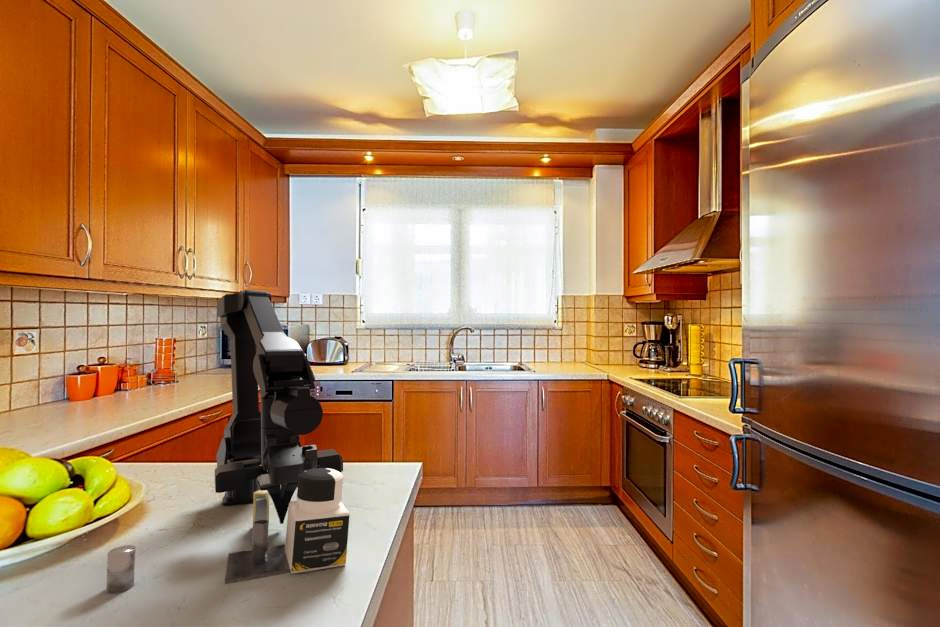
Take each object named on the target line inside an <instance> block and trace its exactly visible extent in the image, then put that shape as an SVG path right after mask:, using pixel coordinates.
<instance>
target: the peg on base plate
mask: <svg viewBox="0 0 940 627" xmlns="http://www.w3.org/2000/svg"><path fill="white" fill-rule="evenodd" d="M269 522H270V520H269V521H267V520H259V521H256V522H254V523H253V522H252V535H251V536H252V538H251V540H252V541H251V543H252V545H251V549H248V550H242V551H236V552H229V553H228V557H227V558H228V559H227V566H226V572H225V579H224V584H230V583H235V582H242V581H247V580H254V579H258V578H263V577H270V576H274V574H275V575H280V573H281V574H286V573H289V572H288V571H291V570H290V567H289V563H288V560H287V557H286V553H285V544H279V545H273V546H272V545H271V546H269V525H270V524H269ZM285 572H286V573H285ZM269 575H270V576H269Z"/></svg>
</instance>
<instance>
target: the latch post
mask: <svg viewBox="0 0 940 627" xmlns="http://www.w3.org/2000/svg"><path fill="white" fill-rule="evenodd" d="M106 562H107V564H106V588H105V589H106V591H105V592H106V593H107V594H119V593H123V592H125V591H129V590H130V589H132V588H133V587H134V586H135V575H136V572H135V569H136V568H135V567H136V546H135V545H132V544H130V545H121V546H117V547H114V548H112V549H110V550H109V551H107V561H106Z"/></svg>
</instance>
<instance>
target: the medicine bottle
mask: <svg viewBox="0 0 940 627" xmlns="http://www.w3.org/2000/svg"><path fill="white" fill-rule="evenodd" d="M343 484H344V475H343V473H342V472H339V471H337V470H334V469H330V468H315V469H310V470H307V471H305V472H303V473H301V475H300V476H299V478H298V487H297V489H296V490H297V493H296V500H291V501H290V503H289V507H288V510H287V520H286V530H285V531H286V532H285V533H286V534H285V544H284V545H285V553H286V557H287V560H288V563H289V567H290V570H291V572H290V573H291V574H298V573H304V572H312V571H317V570H324V569H333V568H338V567H343V566H345V565H346V564H347V556H348V543H349V542H348V540H349V526H350V512H349V510H348V509H347V508H346V506H345V505H344V503H343V501H342V500H343V499H342V498H343Z"/></svg>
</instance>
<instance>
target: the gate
mask: <svg viewBox="0 0 940 627" xmlns="http://www.w3.org/2000/svg"><path fill="white" fill-rule="evenodd" d="M270 498H271V496H270V495H269V493H268V491H267V490H264V491H261V490H259V491H256V492H254V498H253V502H252V503H253V504H252V505H253V506H252V508H253V509H252V512H253V513H252V524H253V523H254V522H256V521H259V520H267V521H269V522H270Z"/></svg>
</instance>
